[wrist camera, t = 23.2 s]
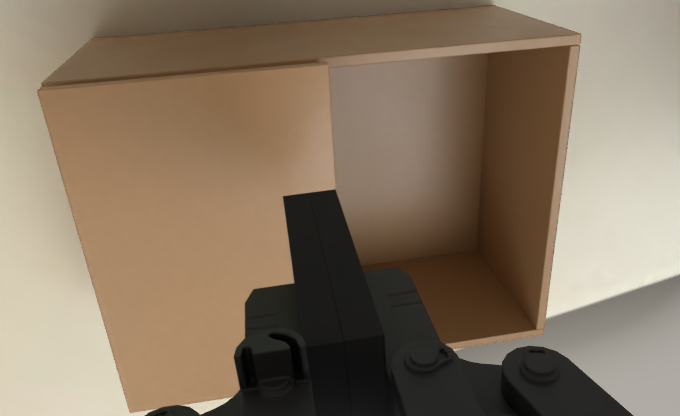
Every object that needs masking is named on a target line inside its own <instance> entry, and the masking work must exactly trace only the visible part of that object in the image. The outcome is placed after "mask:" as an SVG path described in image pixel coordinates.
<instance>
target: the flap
mask: <svg viewBox="0 0 680 416" xmlns="http://www.w3.org/2000/svg"><path fill="white" fill-rule="evenodd" d="M37 93H38V96H39V100H40V103H41V107H42V110H43V113H44V117H45V120H46V124H47V127H48V131H49V134H50V138H51V141H52V145H53V148H54V152H55V155H56V159H57V162H58V165H59V169H60V172H61V176H62V179H63V183H64V186H65V190H66V193H67V197H68V200H69V204H70V207H71V211H72V214H73V218H74V221H75V224H76V228H77V231H78V235H79V238H80V242H81V245H82V249H83V252H84V256H85V259H86V263H87V266H88V270H89V273H90V277H91V280H92V283H93V287H94V290H95V294H96V297H97V301H98V304H99V308H100V311H101V315H102V318H103V322H104V325H105V329H106V332H107V335H108V339H109V342H110V346H111V349H112V353H113V356H114V360H115V363H116V367H117V370H118V374H119V377H120V381H121V384H122V388H123V391H124V394H125V398H126V401H127V405H128V408H129V412H130V413H133V412H139V411H146V410H152V409H158V408H162V407H166V406H173V405H184V404H191V403H197V402H204V401H210V400H217V399H223V398H230V397H234V396H235V395H236V393H237V392H238V391H239V390H240V386H239V381H238V376H237V371H236V366H235V362H234V354H235V351H236V347H237V346H238V345H239V344H240V343H241V342H242V341H243V340H244V339H245V302H246V300H247V299H248V297H249V295H250V294H251V292H252V291H253V289H257V288H264V287H271V286H278V285H285V284H292V283H294V277H293V269H292V262H291V254H290V247H289V239H288V232H287V224H286V216H285V209H284V201H283V196H288V195H295V194H303V193H311V192H318V191H326V190H334V189H336V176H335V159H334V143H333V127H332V111H331V95H330V78H329V65H328V63H327V62H319V63H308V64H297V65H286V66H275V67H264V68H252V69H241V70H230V71H219V72H208V73H197V74H186V75H175V76H163V77H152V78H141V79H130V80H119V81H108V82H97V83H85V84H74V85H63V86H52V87H41V88H40V89H38V90H37Z"/></svg>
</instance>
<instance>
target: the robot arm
mask: <svg viewBox="0 0 680 416" xmlns="http://www.w3.org/2000/svg"><path fill="white" fill-rule="evenodd" d="M283 201H284V209H285V216H286V224H287V232H288V239H289V247H290V254H291V262H292V269H293V277H294V283H292V284H285V285H278V286H271V287H264V288H257V289H253V291H252V292H251V294H250V295H249V297H248V299H247V300H246V302H245V339H244V340H243V341H242V342H241V343H240V344H239V345H238V346H237V347H236V351H235V354H234V362H235V366H236V371H237V376H238V381H239V386H240V390H239V391H238V392H237V393H236V395H235V396H234V397H233V398H231V399H230V400H229V401H228V402H226V403H225V404H223V405H221V406H219V407H217V408H215V409H213V410H211V411H208V412H206V413H204V414H201V415H199V413H198V412H196V411H195V410H193V409H192V408H190V407H186V406H181V405H173V406H166V407H162V408H159V409H157V410H154V411H152V412H149V413H148V414H147V415H145V416H633V415H632V414H631V413H630V412H629V411H627V410H626V409H625V408H624V407H623V406H622V405H620V404H619V403H618V402H617V401H616V400H615V399H614V398H612V397H611V396H610V395H609V394H608V393H607V392H606V391H604V390H603V389H602V388H601V387H600V386H599V385H597V384H596V383H595V382H594V381H593V380H592V379H591V378H590V377H588V376H587V375H586V374H585V373H584V372H583V371H582V370H580V369H579V368H578V367H577V366H576V365H575V364H573V363H572V362H571V361H570V360H569V359H568V358H566V357H565V356H563V355H561V354H560V353H558V352H557V351H554V350H550V349H547V348H544V347H535V346H527V347H521V348H517V349H515V350H513V351H511V352H510V353H508V354H507V355H506V357H505V359H504V360H503V362H502V365H492V364H480V363H474V362H469V361H466V360H463V359H460V358H458V356H457V354H456V353H455V352H454V351H453V349H452V348H451V347H449V346H447V345H445V344H444V343H442V342H441V341H440V339H439V336H438V334H437V332H436V330H435V328H434V326H433V323H432V321H431V319H430V317H429V315H428V313H427V310H426V308H425V306H424V304H422V300H421V298H420V295H419V293H417V289H416V287H415V285H414V282H413V280H412V278H411V277H410V276H409V275H408V274H406V273H405V272H404V271H402V270H401V269H400V268H398V267H392V268H385V269H379V270H372V271H365V272H363V270H362V267H361V264H360V261H359V258H358V255H357V252H356V249H355V246H354V243H353V240H352V237H351V234H350V231H349V228H348V225H347V222H346V219H345V216H344V213H343V210H342V207H341V204H340V201H339V198H338V195H337V192H336V189H334V190H326V191H318V192H311V193H303V194H295V195H288V196H283Z"/></svg>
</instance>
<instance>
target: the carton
mask: <svg viewBox="0 0 680 416" xmlns="http://www.w3.org/2000/svg"><path fill="white" fill-rule="evenodd" d="M580 42H581V34H580V33H577V32H574V31H571V30H568V29H565V28H562V27H559V26H556V25H553V24H550V23H547V22H543V21H540V20H537V19H534V18H531V17H528V16H525V15H522V14H519V13H516V12H513V11H510V10H507V9H504V8H501V7H498V6H483V7H471V8H459V9H447V10H435V11H423V12H410V13H398V14H386V15H374V16H362V17H350V18H338V19H326V20H314V21H302V22H289V23H277V24H265V25H253V26H241V27H229V28H217V29H205V30H193V31H181V32H169V33H156V34H144V35H132V36H120V37H108V38H96V39H91V40H90V41H89V42H87V43H86V44H85V45H84V46H83V47H82V48H81V49H79V50H78V51H77V52H76V53H75V54H74V55H73V56H72V57H70V58H69V59H68V60H67V61H66V62H65V63H64V64H62V65H61V66H60V67H59V68H58V69H57V70H56V71H54V72H53V73H52V74H51V75H50V76H49V77H48V78H47V79H45V80H44V81H43V82H42V87H52V86H63V85H74V84H85V83H97V82H108V81H119V80H130V79H141V78H152V77H163V76H175V75H186V74H197V73H208V72H219V71H230V70H241V69H252V68H264V67H275V66H286V65H297V64H308V63H319V62H327V63H328V65H329V78H330V95H331V111H332V127H333V143H334V159H335V176H336V192H337V195H338V198H339V201H340V204H341V207H342V210H343V213H344V216H345V219H346V222H347V225H348V228H349V231H350V234H351V237H352V240H353V243H354V246H355V249H356V252H357V255H358V258H359V261H360V264H361V267H362V270H363V272H365V271H372V270H379V269H385V268H392V267H398V268H400V269H401V270H402V271H404V272H405V273H406V274H408V275H409V276H410V277H411V278H412V280H413V282H414V285H415V287H416V289H417V293H419V295H420V298H421V300H422V304H424V306H425V308H426V310H427V313H428V315H429V317H430V319H431V321H432V323H433V326H434V328H435V330H436V332H437V334H438V336H439V339H440V341H441V342H442V343H444V344H445V345H447V346H449V347H451V348H452V349H458V348H465V347H471V346H477V345H484V344H490V343H496V342H502V341H509V340H515V339H522V338H528V337H534V336H540V335H543V334H544V326H545V318H546V310H547V302H548V294H549V286H550V279H551V271H552V263H553V255H554V247H555V239H556V231H557V223H558V215H559V208H560V200H561V192H562V184H563V176H564V168H565V160H566V152H567V144H568V137H569V129H570V121H571V113H572V105H573V97H574V89H575V81H576V73H577V66H578V58H579V50H580V45H579V44H580Z"/></svg>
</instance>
